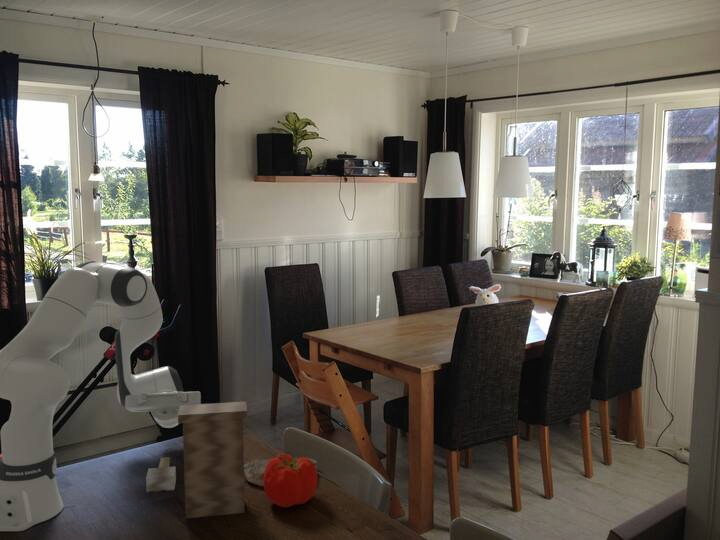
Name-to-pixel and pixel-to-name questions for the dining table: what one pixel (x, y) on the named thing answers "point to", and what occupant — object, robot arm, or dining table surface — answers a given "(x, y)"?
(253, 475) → the clay tablet
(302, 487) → the tomato
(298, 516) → the dining table surface
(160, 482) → the mallet
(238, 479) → the walnut stand
